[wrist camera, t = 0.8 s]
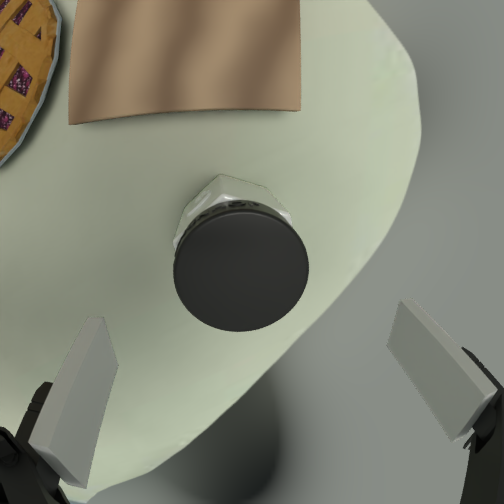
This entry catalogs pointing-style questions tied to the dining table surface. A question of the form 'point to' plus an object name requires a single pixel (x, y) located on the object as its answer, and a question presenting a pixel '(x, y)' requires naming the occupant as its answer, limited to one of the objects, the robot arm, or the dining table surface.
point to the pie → (25, 65)
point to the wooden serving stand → (183, 57)
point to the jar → (238, 257)
